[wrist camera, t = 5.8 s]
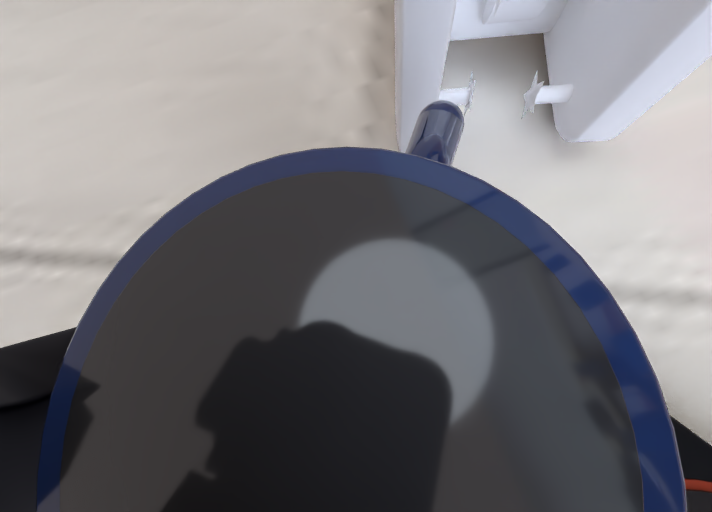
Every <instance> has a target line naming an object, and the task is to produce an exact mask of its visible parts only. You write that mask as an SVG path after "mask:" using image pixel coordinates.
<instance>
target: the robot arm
mask: <svg viewBox="0 0 712 512" xmlns="http://www.w3.org/2000/svg"><path fill="white" fill-rule="evenodd" d="M76 328H77V327H75V328H71V329H68V330H65V331H61V332H57V333H54V334H50V335H46V336H43V337H39V338H36V339H32V340H28V341H25V342H21V343H17V344H14V345H10V346H6V347H3V348H0V512H36V477H37V469H38V461H39V453H40V445H41V437H42V432H43V427H44V423H45V419H46V414H47V410H48V405H49V401H50V397H51V393H52V390H53V387H54V384H55V381H56V378H57V375H58V372H59V369H60V366H61V363H62V360H63V357H64V355H65V353H66V350H67V348H68V346H69V344H70V342H71V339H72V337H73V335H74V333H75V330H76Z"/></svg>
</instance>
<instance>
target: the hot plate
mask: <svg viewBox="0 0 712 512" xmlns="http://www.w3.org/2000/svg"><path fill="white" fill-rule="evenodd" d="M670 418H671V421H672V424H673V427H674V430H675V435H676V440H677V445H678V450H679V455H680V460H681V465H682V470H683V475H684V480H685V487H686V501H687V512H712V446H711V445H709V444H708V443H707V442H705V441H704V440H703V439H701V438H700V437H698V436H697V435H696V434H694V433H693V432H692V431H690V430H689V429H688V428H686V427H685V426H684V425H682V424H681V423H680V422H678V421H677V420H675V419H674V418H673V417H671V416H670Z"/></svg>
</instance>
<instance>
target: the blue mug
mask: <svg viewBox="0 0 712 512" xmlns="http://www.w3.org/2000/svg"><path fill="white" fill-rule="evenodd" d="M463 127H464V117H463V114H462V112H461V110H460V108H459V107H458V106H457V105H456V104H454V103H452V102H450V101H447V100H438V101H434V102H432V103H430V104H428V105H427V106H426V107H425V108H424V109H423V110H422V111H421V113H420V114H419V116H418V118H417V121H416V124H415V127H414V130H413V132H412V135H411V138H410V141H409V144H408V147H407V149H406V152H405V153H402V152H396V151H390V150H385V149H377V148H359V147H336V148H320V149H310V150H305V151H299V152H294V153H288V154H283V155H279V156H276V157H273V158H269V159H266V160H263V161H259V162H256V163H253V164H250V165H248V166H245V167H243V168H241V169H239V170H236V171H234V172H232V173H229V174H227V175H225V176H222V177H220V178H219V179H217V180H215V181H213V182H212V183H210V184H208V185H206V186H205V187H203V188H201V189H200V190H198V191H196V192H194V193H193V194H191V195H190V196H189V197H187V198H186V199H184V200H183V201H182V202H180V203H179V204H178V205H176V206H175V207H174V208H172V209H171V210H169V211H168V212H167V213H165V214H164V215H163V216H162V217H161V218H160V219H159V220H158V221H157V222H156V223H155V224H153V225H152V226H151V227H150V228H149V229H148V230H147V231H146V232H145V233H144V234H142V235H141V236H140V238H139V239H138V240H137V241H136V242H135V243H134V244H133V245H132V247H131V248H130V249H129V250H128V251H127V252H126V253H125V254H124V256H123V257H122V258H121V259H120V260H119V261H118V263H117V264H116V265H115V267H114V268H113V270H112V271H111V272H110V274H109V275H108V276H107V278H106V279H105V281H104V282H103V283H102V285H101V286H100V288H99V289H98V290H97V292H96V294H95V296H94V297H93V299H92V301H91V303H90V304H89V306H88V308H87V309H86V311H85V313H84V315H83V316H82V318H81V320H80V322H79V324H78V326H77V328H76V330H75V333H74V335H73V337H72V339H71V342H70V344H69V346H68V348H67V350H66V353H65V355H64V357H63V360H62V363H61V366H60V369H59V372H58V375H57V378H56V381H55V384H54V387H53V390H52V393H51V397H50V401H49V405H48V410H47V414H46V419H45V423H44V427H43V432H42V437H41V445H40V453H39V461H38V469H37V477H36V512H687V501H686V487H685V480H684V475H683V470H682V465H681V460H680V455H679V450H678V445H677V440H676V435H675V430H674V427H673V424H672V421H671V418H670V415H669V412H668V409H667V406H666V403H665V400H664V397H663V394H662V391H661V388H660V385H659V382H658V379H657V377H656V375H655V372H654V370H653V368H652V366H651V364H650V362H649V360H648V358H647V356H646V353H645V351H644V349H643V347H642V345H641V343H640V341H639V339H638V337H637V335H636V332H635V331H634V329H633V328H632V326H631V324H630V323H629V321H628V320H627V318H626V317H625V315H624V313H623V312H622V310H621V309H620V307H619V305H618V304H617V302H616V301H615V299H614V297H613V296H612V294H611V293H610V291H609V290H608V289H607V288H606V286H605V285H604V284H603V283H602V281H601V280H600V279H599V278H598V276H597V275H596V274H595V273H594V271H593V270H592V269H591V268H590V267H589V265H588V264H587V263H586V262H585V260H584V259H583V258H582V257H581V255H579V254H578V253H577V252H576V251H575V250H574V249H573V248H572V247H571V246H570V245H569V244H568V243H567V242H566V241H565V240H564V239H563V238H562V237H561V236H560V235H559V234H558V233H557V232H556V231H555V230H554V229H553V228H552V227H551V226H550V225H548V224H547V223H546V222H545V221H543V220H542V219H541V218H539V217H538V216H537V215H535V214H534V213H533V212H531V211H530V210H529V209H528V208H526V207H525V206H524V205H522V204H521V203H520V202H518V201H517V200H515V199H514V198H512V197H510V196H509V195H507V194H505V193H504V192H502V191H500V190H499V189H497V188H495V187H494V186H492V185H490V184H488V183H487V182H485V181H483V180H481V179H479V178H477V177H474V176H472V175H470V174H468V173H465V172H463V171H461V170H459V169H456V168H454V167H452V163H453V160H454V157H455V154H456V151H457V148H458V144H459V141H460V138H461V135H462V132H463Z"/></svg>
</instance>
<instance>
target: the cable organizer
mask: <svg viewBox="0 0 712 512" xmlns="http://www.w3.org/2000/svg"><path fill="white" fill-rule="evenodd" d="M534 33H543V35H544V43H545V52H546V60H547V68H548V76H549V84H550V85H549V86H542V85H543V83H544V81H543V82H540V83H538V84H537V72H536V75H535V77H534V80H533V83H532V85H531V88H530V89H529V90H528V91H527V92H526V93H525V94H524V95H523V96H524V100H525V103H526V104H525V107H524V111H523V115H522V118H523V116H524V115H525V113H526V112H527V111H528V109H529V110H530V111H531V112H532V113H533V112H534V106H535V104H545V103H552V108H553V116H554V122H555V126H556V129H557V131H558V133H559V135H560V136H561V137H562V139H563V140H565V141H567V142H590V141H607V140H610V139H613V138H615V137H616V136H617V135H619V134H620V133H621V132H622V131H624V130H625V129H626V128H627V127H628V126H629V125H631V124H632V123H633V122H634V121H635V120H636V119H638V118H639V117H640V116H641V115H642V114H643V113H645V112H646V111H647V110H648V109H649V108H651V107H652V106H653V105H654V104H655V103H656V102H658V101H659V100H660V99H661V98H662V97H663V96H665V95H666V94H667V93H668V92H669V91H670V90H672V89H673V88H674V87H675V86H676V85H678V84H679V83H680V82H681V81H682V80H683V79H685V78H686V77H687V76H688V75H689V74H690V73H692V72H693V71H694V70H695V69H696V68H698V67H699V66H700V65H701V64H702V63H703V62H705V61H706V60H707V59H708V58H709V57H710V56H712V0H395V117H396V134H397V142H398V147H399V151H400V152H402V153H404V152H406V149H407V147H408V144H409V141H410V138H411V135H412V132H413V130H414V127H415V124H416V121H417V118H418V116H419V114H420V113H421V111H422V110H423V109H424V108H425V107H426V106H427V105H428V104H430V103H432V102H434V101H438V100H447V101H450V102H452V103H454V104H456V105H466V106H465V113H466V111H467V108H468V109H469V111H470V109H471V103H472V97H473V92H474V87H475V82H476V80H475V81H473V78H472V73H471V78H470V83H469V87H468V88H454V89H441V84H442V79H443V73H444V68H445V62H446V57H447V52H448V46H449V41H457V40H468V39H479V38H490V37H501V36H512V35H523V34H534ZM465 113H464V116H465ZM522 118H521V119H522Z"/></svg>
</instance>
